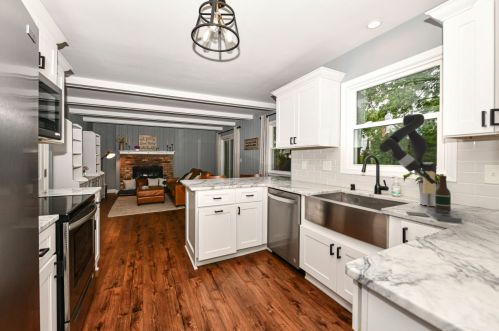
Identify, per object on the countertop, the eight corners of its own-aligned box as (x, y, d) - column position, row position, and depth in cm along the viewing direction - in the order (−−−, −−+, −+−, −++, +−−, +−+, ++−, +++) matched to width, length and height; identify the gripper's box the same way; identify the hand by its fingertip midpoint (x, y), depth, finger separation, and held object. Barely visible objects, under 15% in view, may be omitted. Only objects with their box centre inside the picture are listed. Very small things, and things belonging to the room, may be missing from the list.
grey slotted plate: (426, 211, 143) (426, 208, 143) (446, 213, 138) (446, 209, 138) (437, 220, 120) (437, 216, 120) (461, 223, 115) (461, 218, 115)
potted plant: (444, 210, 147) (444, 175, 147) (453, 212, 140) (454, 176, 140) (432, 210, 148) (432, 175, 148) (441, 212, 140) (441, 176, 140)
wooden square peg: (422, 192, 135) (423, 171, 135) (432, 193, 133) (432, 171, 133) (424, 193, 131) (425, 171, 131) (434, 193, 128) (434, 171, 128)
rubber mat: (406, 212, 141) (406, 211, 141) (425, 213, 137) (425, 213, 137) (408, 215, 133) (408, 214, 133) (429, 217, 128) (429, 216, 128)
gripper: (416, 158, 129) (442, 179, 123) (411, 159, 141) (434, 178, 136) (405, 166, 131) (430, 187, 126) (401, 166, 144) (424, 186, 138)
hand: (432, 182), depth 131 cm, fingers closed on wooden square peg, 4 cm apart
